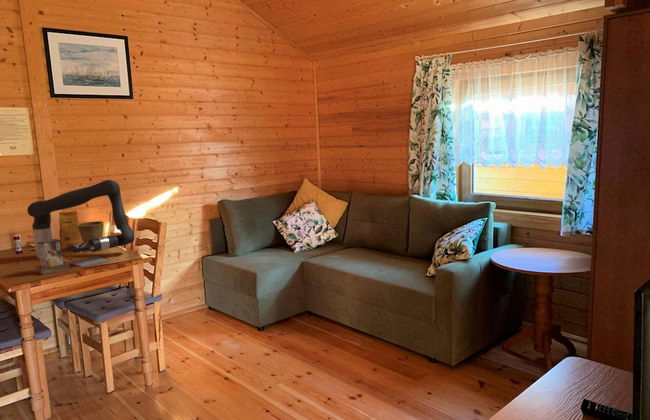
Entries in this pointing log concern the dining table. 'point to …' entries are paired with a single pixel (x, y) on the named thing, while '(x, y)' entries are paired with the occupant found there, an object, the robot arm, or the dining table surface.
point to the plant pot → (91, 230)
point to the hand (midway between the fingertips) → (69, 250)
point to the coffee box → (50, 253)
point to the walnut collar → (52, 268)
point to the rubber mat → (88, 261)
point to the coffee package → (69, 228)
